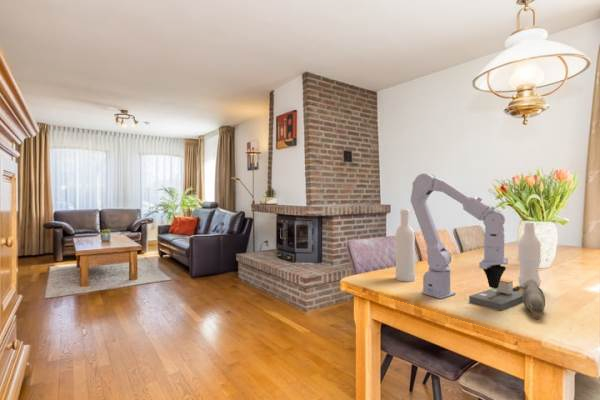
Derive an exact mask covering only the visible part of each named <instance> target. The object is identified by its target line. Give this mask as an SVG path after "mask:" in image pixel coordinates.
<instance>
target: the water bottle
mask: <svg viewBox="0 0 600 400" xmlns="http://www.w3.org/2000/svg"><path fill="white" fill-rule="evenodd" d="M535 230H536V228H535V222H524V227H523V232H522V235H521V236H520V238H519V240H518V242H517V245H518V246H517V247H518V251H517V252H518V253H517V254H518V257H517V260H518V262H519V263H518V264H519V267H520V269H519V270H520V271H519V275H518V276H517V282H518V284H519V287H520V288H523V289H524V288H525V286H526V285H527V283H526V282H527V280H529V279H532V280H533V281H536V283H537V286H538V287H539V288H540V287H541V278H540V275H539V267H540V264H541V262H542V259H541V246H542V244H541V242H540V239H539V237H538V236H537V235H536V231H535ZM538 287H537V288H538ZM525 289H526V288H525Z"/></svg>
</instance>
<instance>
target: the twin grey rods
mask: <svg viewBox="0 0 600 400" xmlns="http://www.w3.org/2000/svg"><path fill="white" fill-rule="evenodd" d="M520 288H521V286H520V285H519V286H515V287H513V291H515V292H516V291H518V290H520Z"/></svg>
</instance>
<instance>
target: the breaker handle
mask: <svg viewBox="0 0 600 400" xmlns="http://www.w3.org/2000/svg"><path fill="white" fill-rule="evenodd" d="M513 282H514V281H513V280H509V279H505V278H501V279H500V282H499V286H498V288H496V291H497V292H502V293H506V294H510V293H513V288H514V287H513V284H514V283H513Z"/></svg>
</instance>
